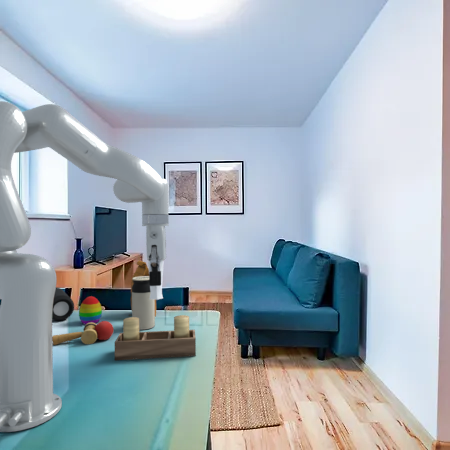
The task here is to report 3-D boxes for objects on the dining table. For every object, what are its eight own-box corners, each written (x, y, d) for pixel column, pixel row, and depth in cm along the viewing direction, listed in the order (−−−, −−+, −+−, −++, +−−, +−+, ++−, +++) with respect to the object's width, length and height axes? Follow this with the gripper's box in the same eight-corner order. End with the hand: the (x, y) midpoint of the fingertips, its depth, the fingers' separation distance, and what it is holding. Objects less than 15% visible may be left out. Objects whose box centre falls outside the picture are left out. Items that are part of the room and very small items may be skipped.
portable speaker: (75, 320, 134) (75, 295, 134) (47, 324, 129) (47, 298, 129) (65, 307, 156) (65, 285, 156) (41, 310, 150) (40, 288, 150)
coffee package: (133, 320, 133) (132, 263, 133) (129, 312, 144) (128, 260, 144) (158, 317, 137) (158, 262, 137) (153, 310, 148) (152, 259, 148)
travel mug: (156, 328, 122) (155, 278, 122) (133, 331, 119) (133, 280, 119) (152, 322, 129) (152, 275, 129) (131, 325, 126) (130, 276, 126)
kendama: (52, 354, 102) (114, 339, 108) (49, 333, 103) (111, 319, 108) (57, 350, 110) (115, 336, 115) (54, 330, 110) (112, 317, 116)
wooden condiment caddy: (195, 355, 96) (195, 320, 96) (114, 360, 94) (114, 324, 94) (195, 345, 104) (194, 313, 104) (120, 349, 102) (120, 316, 101)
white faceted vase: (148, 300, 96) (147, 247, 96) (147, 297, 100) (147, 246, 100) (164, 299, 97) (164, 246, 97) (163, 296, 101) (162, 245, 101)
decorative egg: (74, 324, 128) (73, 298, 128) (89, 318, 136) (88, 293, 136) (92, 326, 125) (91, 299, 125) (106, 320, 133) (106, 294, 133)
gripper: (166, 220, 91) (167, 289, 91) (169, 221, 107) (170, 278, 108) (138, 220, 90) (138, 290, 90) (145, 221, 107) (146, 279, 107)
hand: (156, 283), depth 99 cm, fingers closed on white faceted vase, 4 cm apart
